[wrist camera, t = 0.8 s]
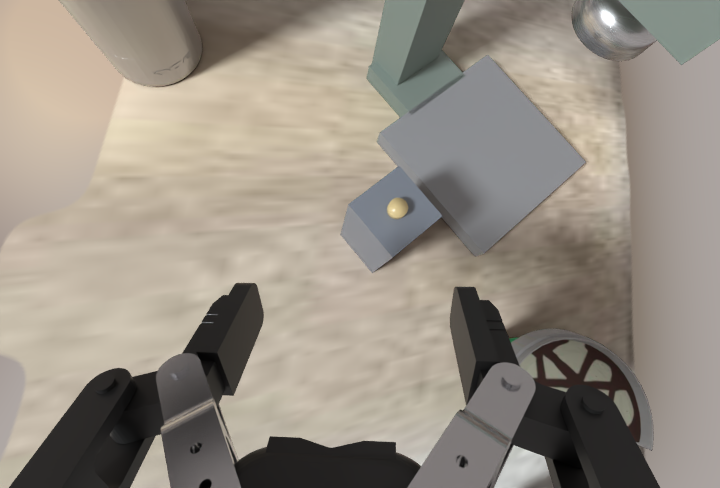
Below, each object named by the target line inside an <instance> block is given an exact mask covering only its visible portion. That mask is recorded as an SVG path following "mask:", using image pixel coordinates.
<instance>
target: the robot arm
mask: <svg viewBox="0 0 720 488" xmlns="http://www.w3.org/2000/svg"><path fill="white" fill-rule="evenodd" d="M59 1H60V2H61V4H63V6H64V7H65V8H66V10H67V11H68V12H69V13H70V14H71V16H72V17H73V18H74V19H75V20H76V22H77V23H78V24H79V25H80V26H81V28H82V29H83V30H84V31H85V32H86V34H87V35H88V36H89V37H90V38H91V40H92V41H93V42H94V43H95V45H96V46H97V47H98V48H99V49H100V50H101V52H102V53H103V54H104V55H105V56H106V58H107V59H108V60H109V61H110V62H111V64H112V65H113V66H114V67H115V68H116V69H117V71H118V72H119V73H120V74H122V75H123V76H124V77H125V78H126V79H128V80H130V81H132V82H134V83H137V84H141V85H144V86H153V87H155V86H166V85H170V84H173V83H176V82H178V81H180V80H182V79H184V78H185V77H186V76H188V75H189V74H190V73H191V72H192V71H193V70H194V69H195V68H196V66H197V64H198V63H199V61H200V58H201V54H202V42H201V37H200V35H199V32H198V30H197V28H196V25H195V23H194V21H193V18H192V16H191V14H190V12H189V9H188V7H187V4H186V2H185V0H59ZM263 317H264V314H263V308H262V304H261V300H260V296H259V292H258V288H257V285H256V284H255V283H236V284H235V285H234V287H233V288H232V290H231V292H230V294H229V295H223V296H221V297H220V298H219V299H218V300H217V301H216V302H214V303H213V304H212V306H211V307H210V309H209V311H208V312H207V316H205V317H204V319H203V321H202V324H200V325H199V327H198V329H197V330H196V332H195V334H194V335H193V337H192V338H191V340H190V342H189V343H188V345H187V347H186V348H185V350H184V352H183V353H182V354H179V355H176V356H174V357H172V358H170V359H169V360H167V361H166V362H165V363H164V364H163V365H162V366H161V367H160V368H159V370H158V371H155V372H151V373H147V374H143V375H139V376H135V377H132V376H131V374H130V373H129V371H127V370H126V369H123V368H116V369H111V370H108V371H105V372H103V373H101V374H99V375H98V376H96V377H95V378H94V379H92V380H91V381H90V382H89V383H88V384H87V385H86V386H85V388H84V389H83V390H82V392H81V393H80V394H79V396H78V397H77V398H76V400H75V401H74V402H73V404H72V405H71V406H70V408H69V409H68V410H67V412H66V413H65V414H64V415H63V417H62V418H61V419H60V421H59V422H58V423H57V425H56V426H55V427H54V429H53V430H52V431H51V433H50V434H49V435H48V437H47V438H46V439H45V441H44V442H43V443H42V445H41V446H40V447H39V449H38V450H37V451H36V453H35V454H34V455H33V457H32V458H31V459H30V460H29V462H28V463H27V464H26V466H25V467H24V468H23V470H22V471H21V472H20V474H19V475H18V476H17V478H16V479H15V480H14V482H13V483H12V484H11V486H10V487H9V488H130V487H131V485H132V483H133V481H134V478H135V476H136V474H137V472H138V470H139V468H140V466H141V464H142V462H143V460H144V458H145V456H146V454H147V452H148V450H149V448H150V446H151V444H152V442H153V440H154V438H155V436H156V435H160V434H161V435H162V441H163V446H164V452H165V458H166V463H167V469H168V475H169V480H170V486H171V488H494V486H495V484H496V482H497V480H498V477H499V475H500V473H501V471H502V469H503V467H504V465H505V463H506V461H507V459H508V457H509V455H510V452H511V450H512V448H513V446H514V445H515V446H518V447H521V448H523V449H526V450H529V451H531V452H534V453H537V454H540V455H542V456H545V459H546V463H547V466H548V469H549V472H550V476H551V479H552V482H553V486H554V488H660V486H659V485H658V483H657V481H656V479H655V477H654V475H653V473H652V471H651V470H650V468H649V466H648V464H647V462H646V460H645V458H644V456H643V454H642V453H641V451H640V449H639V447H638V445H637V443H636V441H635V439H634V437H633V436H632V434H631V432H630V430H629V428H628V426H627V424H626V422H625V420H624V419H623V417H622V415H621V413H620V411H619V409H618V407H617V406H616V404H615V403H614V402H613V400H612V399H611V398H610V397H609V396H607V395H606V394H605V393H603V392H602V391H600V390H598V389H596V388H594V387H591V386H587V385H574V386H571V387H570V388H569V389H568V390H567V391H566V392H564V391H561V390H558V389H554V388H551V387H548V386H545V385H542V384H540V383H538V382H536V381H534V380H533V378H532V377H531V375H530V374H529V373H528V372H527V371H526V370H524V369H523V368H521V367H520V365H519V363H518V360H517V358H516V355H515V352H514V350H513V347H512V345H511V342H510V339H509V337H508V334H507V332H506V329H505V326H504V324H503V323H502V319H501V316H500V313H499V311H498V309H497V308H496V307H495V306H494V305H493V304H492V303H491V302H490V301H489V300H479V297H478V294H477V291H476V288H475V287H455V288H454V293H453V300H452V307H451V313H450V328H451V334H452V339H453V344H454V348H455V353H456V358H457V363H458V368H459V373H460V377H461V382H462V387H463V392H464V397H465V401H466V405H467V406H466V407H465V409H464V410H463V411H462V410H459V411H458V412H457V413H456V415H455V416H454V418H453V419H452V421H451V422H450V424H449V425H448V427H447V428H446V430H445V431H444V433H443V434H442V436H441V437H440V439H439V440H438V442H437V443H436V445H435V446H434V448H433V449H432V451H431V453H430V454H429V456H428V457H427V459H426V460H425V462H424V463H423V465H422V466H420V465H419V464H418V463H416V462H415V461H413V460H412V459H410V458H408V457H406V456H404V455H402V454H399V453H396V442H377V441H361V442H357V443H352V444H348V445H344V446H339V447H335V448H329V447H325V446H322V445H319V444H317V443H314V442H311V441H308V440H305V439H302V438H291V437H270V438H269V442H268V445H267V447H265V448H262V449H259V450H256V451H254V452H252V453H250V454H248V455H246V456H245V457H243V458H241V459H240V460H239V459H238V456H237V454H236V451H235V448H234V446H233V443H232V440H231V437H230V434H229V431H228V428H227V426H226V423H225V420H224V417H223V414H222V411H221V408H220V406H219V402H220V400H221V398H222V395H232V396H234V393H235V391H236V388H237V386H238V383H239V381H240V378H241V376H242V374H243V371H244V369H245V366H246V364H247V361H248V359H249V356H250V354H251V351H252V349H253V347H254V344H255V342H256V339H257V337H258V334H259V332H260V329H261V327H262V324H263Z"/></svg>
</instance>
